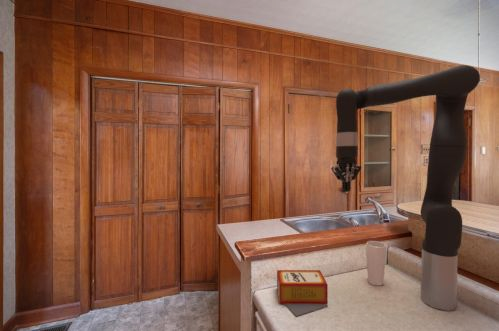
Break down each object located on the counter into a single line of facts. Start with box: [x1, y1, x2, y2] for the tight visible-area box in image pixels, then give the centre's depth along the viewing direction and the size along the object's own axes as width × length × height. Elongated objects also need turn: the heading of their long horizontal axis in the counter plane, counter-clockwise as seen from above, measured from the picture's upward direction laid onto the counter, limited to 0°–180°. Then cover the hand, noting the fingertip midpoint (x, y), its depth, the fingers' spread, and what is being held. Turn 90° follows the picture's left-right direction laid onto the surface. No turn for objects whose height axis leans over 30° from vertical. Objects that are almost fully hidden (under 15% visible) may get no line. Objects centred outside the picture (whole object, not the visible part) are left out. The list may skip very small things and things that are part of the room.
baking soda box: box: [276, 269, 329, 305], centre depth 85 cm, size 10×6×16 cm
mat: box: [277, 296, 328, 318], centre depth 82 cm, size 12×11×1 cm
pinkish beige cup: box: [365, 240, 387, 287], centre depth 93 cm, size 7×7×15 cm
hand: (346, 191), depth 92 cm, fingers closed
